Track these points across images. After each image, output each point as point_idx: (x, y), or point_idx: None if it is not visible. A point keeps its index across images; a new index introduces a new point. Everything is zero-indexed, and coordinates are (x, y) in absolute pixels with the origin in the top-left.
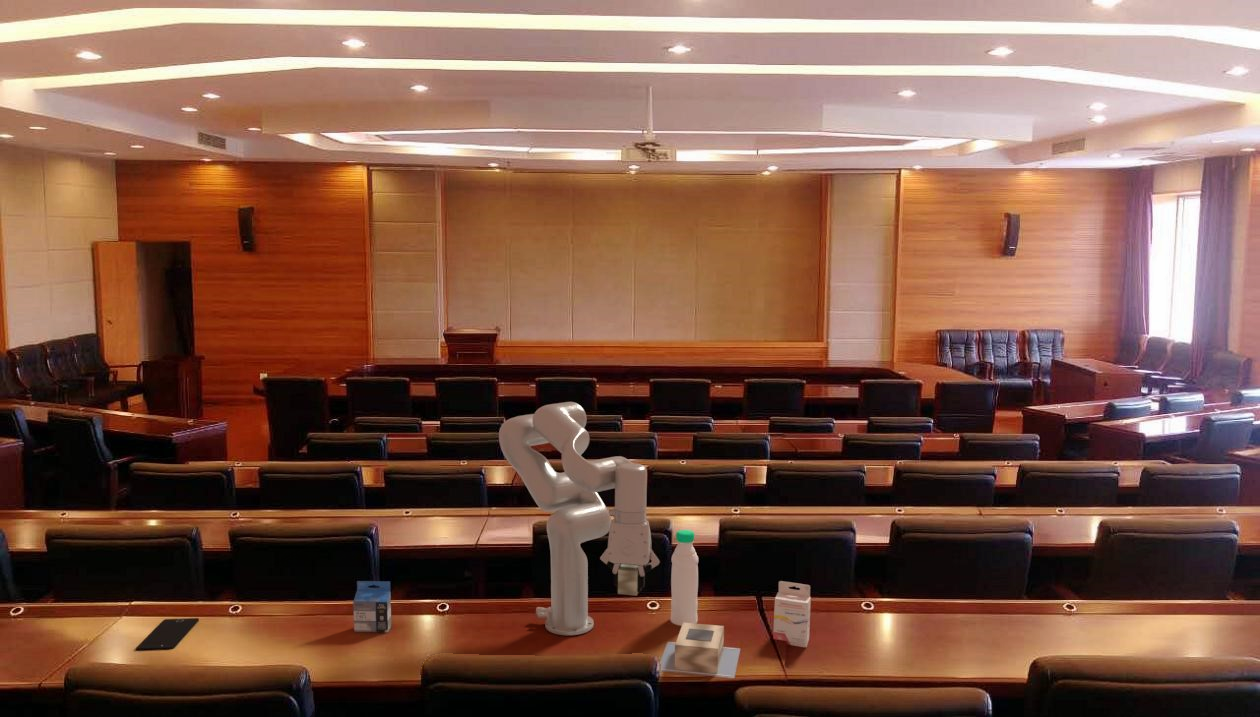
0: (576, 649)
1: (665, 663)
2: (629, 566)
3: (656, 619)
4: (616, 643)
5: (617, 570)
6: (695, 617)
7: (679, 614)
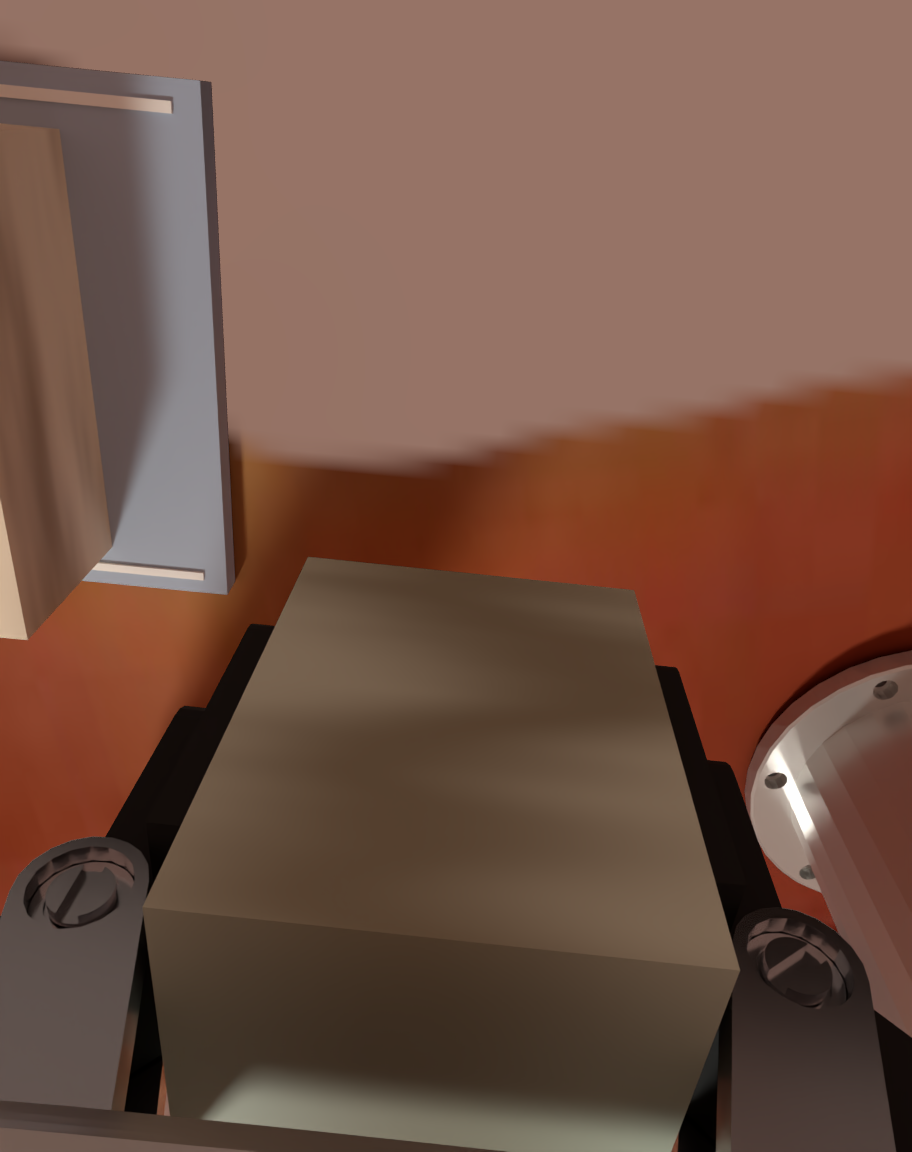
0: (875, 460)
1: (159, 232)
2: (430, 1139)
3: None
4: (583, 578)
5: (738, 987)
6: None
7: None
